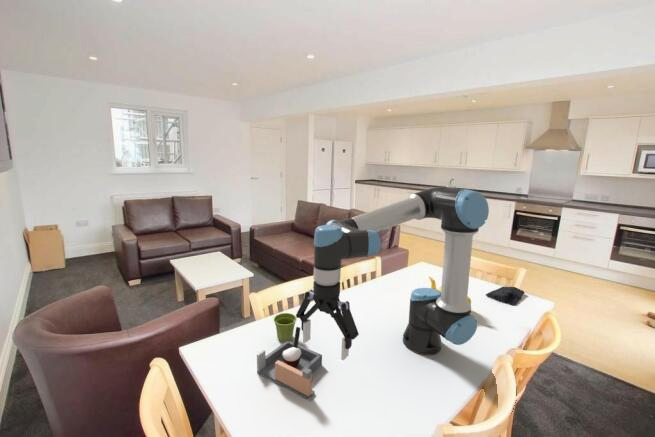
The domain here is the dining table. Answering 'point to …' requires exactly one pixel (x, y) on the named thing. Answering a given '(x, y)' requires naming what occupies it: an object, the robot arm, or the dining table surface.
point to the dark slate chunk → (506, 295)
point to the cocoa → (293, 352)
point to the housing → (268, 362)
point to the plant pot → (285, 326)
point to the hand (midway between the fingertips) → (325, 348)
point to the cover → (294, 377)
